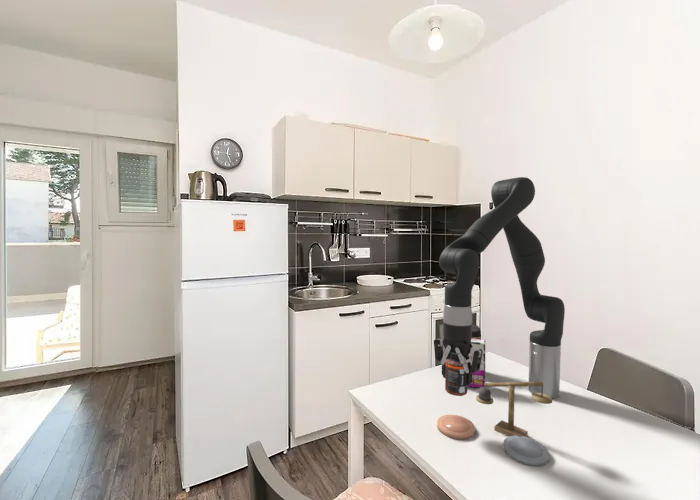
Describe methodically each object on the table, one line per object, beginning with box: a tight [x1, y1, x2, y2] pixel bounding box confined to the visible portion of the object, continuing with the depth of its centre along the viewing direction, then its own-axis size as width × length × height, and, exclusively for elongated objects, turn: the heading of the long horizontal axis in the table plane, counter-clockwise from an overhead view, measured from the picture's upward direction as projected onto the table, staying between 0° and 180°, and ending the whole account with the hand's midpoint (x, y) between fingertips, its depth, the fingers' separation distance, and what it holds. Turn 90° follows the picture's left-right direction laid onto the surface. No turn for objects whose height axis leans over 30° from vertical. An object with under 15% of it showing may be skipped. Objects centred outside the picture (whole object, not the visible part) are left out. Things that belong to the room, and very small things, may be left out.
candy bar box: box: [465, 338, 486, 390], centre depth 121 cm, size 11×5×16 cm, turn 68°
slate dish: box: [503, 436, 550, 467], centre depth 83 cm, size 10×10×1 cm
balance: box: [475, 381, 554, 437], centre depth 91 cm, size 5×20×17 cm, turn 41°
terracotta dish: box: [436, 414, 476, 440], centre depth 94 cm, size 10×10×1 cm
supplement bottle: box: [444, 352, 469, 397], centre depth 93 cm, size 6×6×11 cm
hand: (456, 380), depth 93 cm, fingers closed on supplement bottle, 6 cm apart
